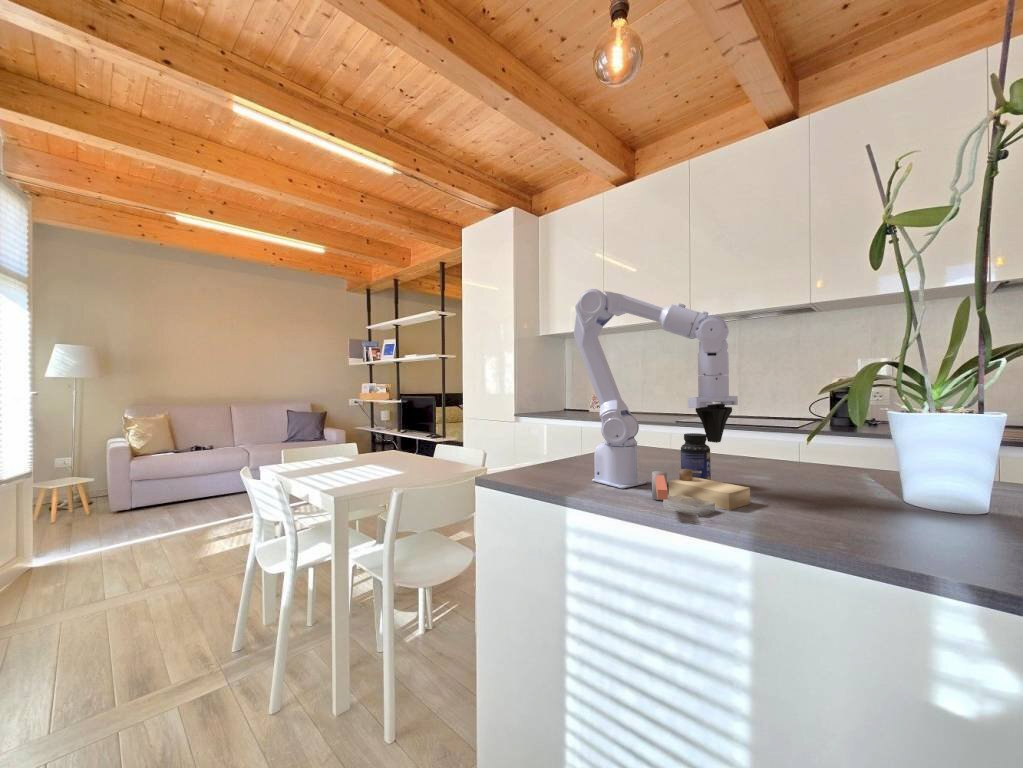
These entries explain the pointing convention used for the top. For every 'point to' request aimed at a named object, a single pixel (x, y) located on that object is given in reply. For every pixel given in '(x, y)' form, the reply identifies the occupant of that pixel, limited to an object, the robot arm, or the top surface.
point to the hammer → (659, 485)
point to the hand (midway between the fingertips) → (714, 441)
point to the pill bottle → (696, 455)
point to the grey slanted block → (689, 505)
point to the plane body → (710, 491)
